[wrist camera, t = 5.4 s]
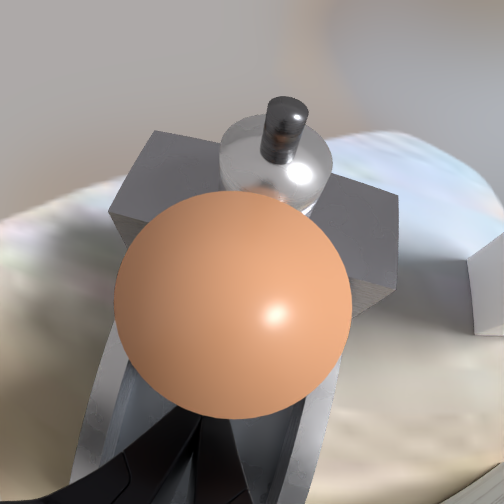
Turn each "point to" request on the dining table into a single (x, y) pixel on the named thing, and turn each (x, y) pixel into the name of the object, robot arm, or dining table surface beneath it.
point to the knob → (232, 304)
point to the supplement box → (482, 489)
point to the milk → (488, 288)
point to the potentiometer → (276, 156)
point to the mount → (251, 429)
